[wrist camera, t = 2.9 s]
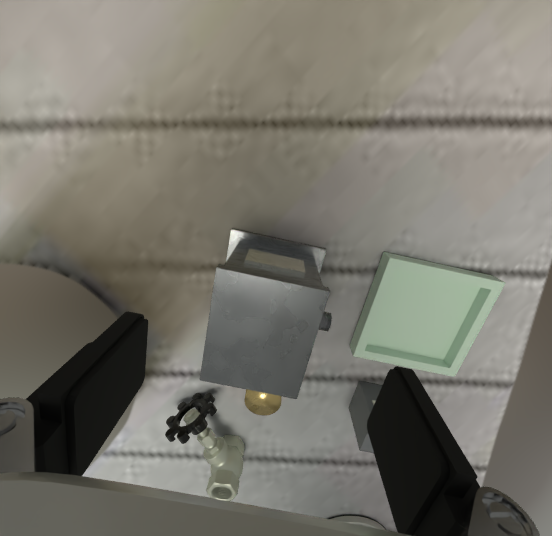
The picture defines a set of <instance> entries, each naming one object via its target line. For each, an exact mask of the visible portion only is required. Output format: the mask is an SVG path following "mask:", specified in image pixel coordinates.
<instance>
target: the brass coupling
mask: <svg viewBox="0 0 552 536" xmlns="http://www.w3.org/2000/svg"><path fill="white" fill-rule="evenodd" d="M245 405H246V407H247V408H248V409H249V410H250V411H251V412H253V413H255V414H258V415H270V414H273V413H275V412H276V411H277V410H278V409H279V408H280V406H281V396H278V395H273V394H268V393H263V392H258V391H253V390H248V389H246V395H245Z"/></svg>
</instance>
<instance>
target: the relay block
mask: <svg viewBox="0 0 552 536" xmlns="http://www.w3.org/2000/svg"><path fill="white" fill-rule="evenodd" d="M382 386H383V385H378V384H373V383H368V382H363V381H359V383H358V386H357V388H356V391H355V393H354V396H353V398H352V401H351V403H350V406H349V410H350V414H351V418H352V422H353V426H354V430H355V434H356V438H357V442H358V446H359V450H360V451H365V452H370V453H374V451H373V448H372V444H371V441H370V438H369V434H368V431H367V420H368V418H369V415H370V413H371V411H372V408H373V406H374V404H375V402H376V399H377V397H378V395H379V392H380V390H381V388H382Z"/></svg>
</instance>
